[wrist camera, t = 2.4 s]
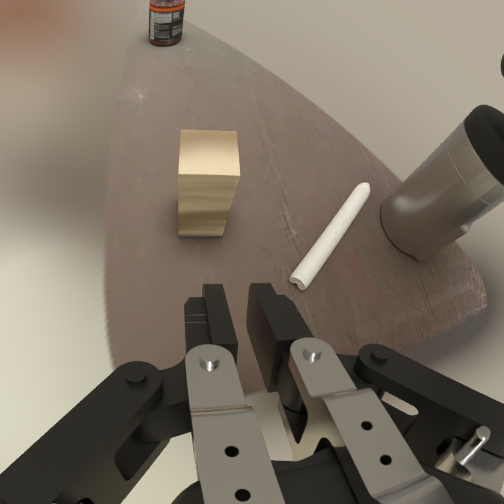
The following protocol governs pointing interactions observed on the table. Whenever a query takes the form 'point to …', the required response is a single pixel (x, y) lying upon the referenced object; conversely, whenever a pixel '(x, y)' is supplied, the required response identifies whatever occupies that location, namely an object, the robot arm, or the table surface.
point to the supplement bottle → (165, 21)
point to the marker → (330, 237)
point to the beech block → (206, 181)
